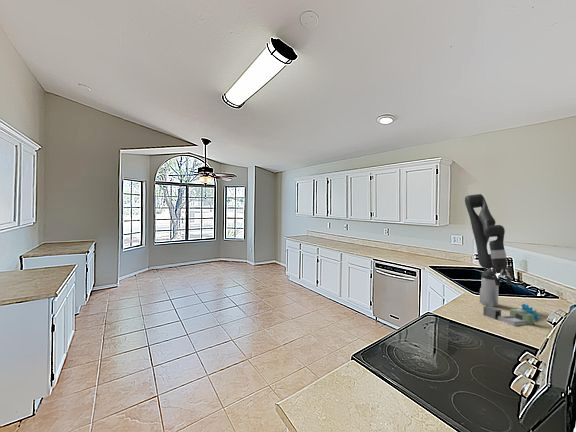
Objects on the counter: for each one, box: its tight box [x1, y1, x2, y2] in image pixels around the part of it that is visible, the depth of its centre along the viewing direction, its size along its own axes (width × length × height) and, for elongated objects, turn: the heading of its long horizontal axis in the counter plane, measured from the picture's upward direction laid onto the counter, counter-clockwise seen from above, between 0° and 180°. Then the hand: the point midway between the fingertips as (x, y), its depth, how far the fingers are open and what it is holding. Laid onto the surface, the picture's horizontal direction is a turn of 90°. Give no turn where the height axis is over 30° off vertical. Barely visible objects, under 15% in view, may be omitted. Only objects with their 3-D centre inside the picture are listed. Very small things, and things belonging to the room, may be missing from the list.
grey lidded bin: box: [482, 305, 502, 320], centre depth 164 cm, size 7×5×5 cm
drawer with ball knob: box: [497, 308, 535, 327], centre depth 156 cm, size 10×13×6 cm
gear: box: [521, 303, 540, 321], centre depth 162 cm, size 11×6×10 cm
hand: (503, 285), depth 167 cm, fingers open, 8 cm apart
